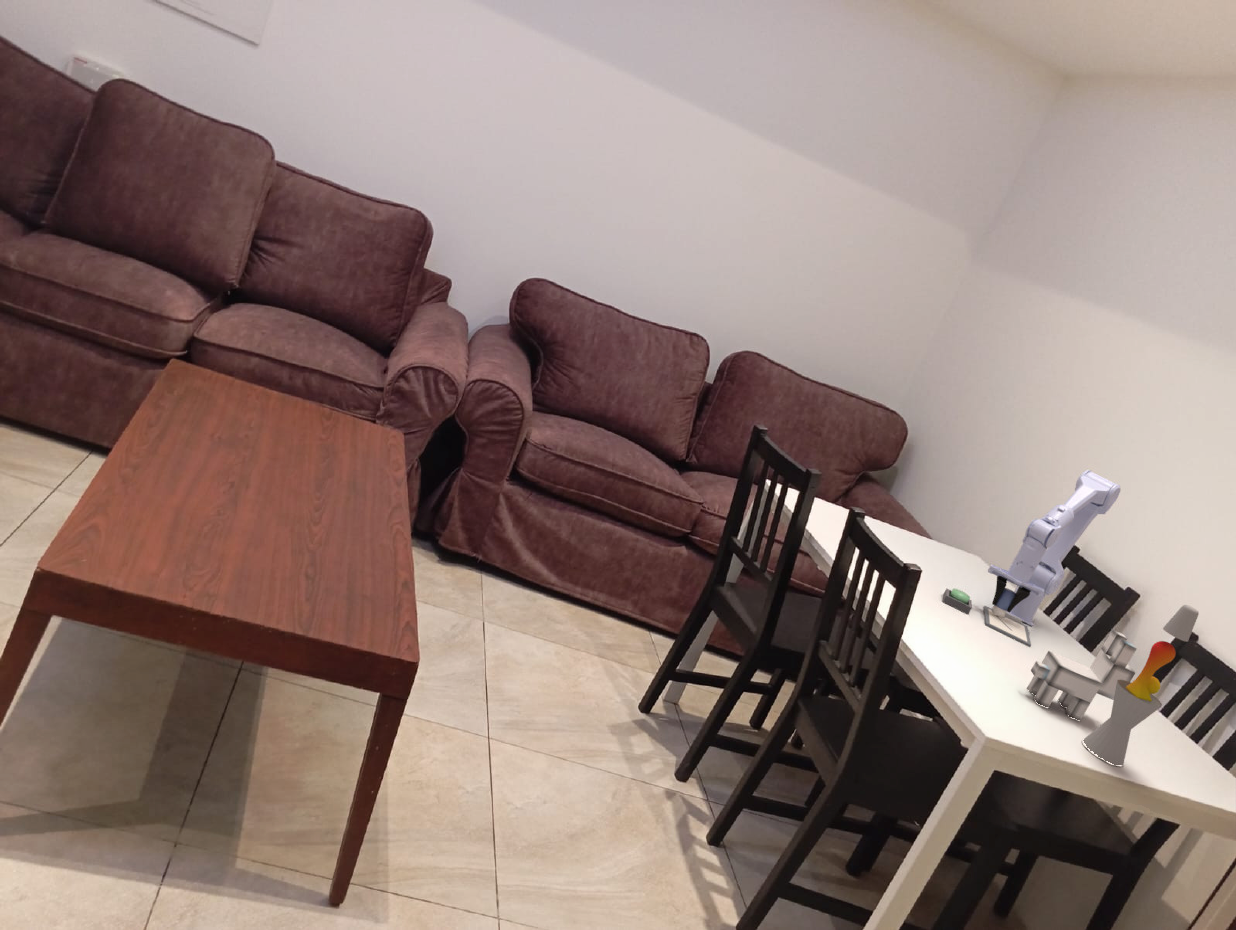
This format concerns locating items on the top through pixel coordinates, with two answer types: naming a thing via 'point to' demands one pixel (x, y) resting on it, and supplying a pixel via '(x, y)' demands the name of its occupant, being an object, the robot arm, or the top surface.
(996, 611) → the marker
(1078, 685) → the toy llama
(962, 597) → the button
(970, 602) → the button housing
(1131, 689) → the lava lamp
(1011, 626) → the clipboard
